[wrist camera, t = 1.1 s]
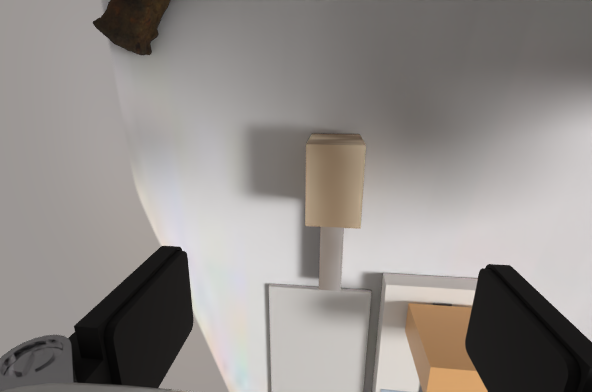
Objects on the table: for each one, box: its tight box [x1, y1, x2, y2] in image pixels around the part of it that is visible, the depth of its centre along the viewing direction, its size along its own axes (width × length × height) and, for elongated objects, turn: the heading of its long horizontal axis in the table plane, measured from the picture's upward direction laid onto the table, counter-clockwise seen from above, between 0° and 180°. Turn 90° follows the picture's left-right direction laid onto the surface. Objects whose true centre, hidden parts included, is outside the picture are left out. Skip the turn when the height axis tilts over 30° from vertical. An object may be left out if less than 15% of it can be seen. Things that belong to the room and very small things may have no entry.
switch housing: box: [372, 273, 478, 392], centre depth 32 cm, size 10×18×2 cm, turn 0°
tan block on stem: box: [305, 134, 366, 291], centre depth 27 cm, size 4×14×6 cm, turn 0°
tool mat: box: [269, 284, 371, 392], centre depth 35 cm, size 10×16×1 cm, turn 0°
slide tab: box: [405, 303, 488, 392], centre depth 26 cm, size 6×3×7 cm, turn 90°
